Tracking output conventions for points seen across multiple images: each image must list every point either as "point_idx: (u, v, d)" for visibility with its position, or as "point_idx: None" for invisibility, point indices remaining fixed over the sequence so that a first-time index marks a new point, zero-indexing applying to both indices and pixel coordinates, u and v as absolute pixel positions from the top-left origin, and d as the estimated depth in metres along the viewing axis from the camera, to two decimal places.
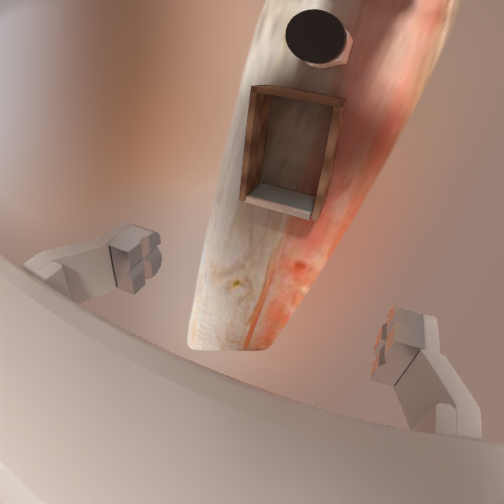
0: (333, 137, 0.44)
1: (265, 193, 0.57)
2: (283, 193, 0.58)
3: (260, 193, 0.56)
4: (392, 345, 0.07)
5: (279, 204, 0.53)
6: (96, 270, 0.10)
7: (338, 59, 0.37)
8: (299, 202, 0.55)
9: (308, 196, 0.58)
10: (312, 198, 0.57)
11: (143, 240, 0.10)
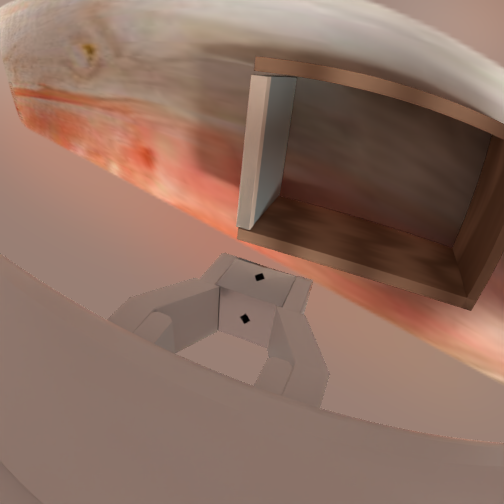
0: (412, 290, 0.22)
1: (278, 106, 0.22)
2: (281, 136, 0.25)
3: (277, 97, 0.21)
4: (248, 300, 0.08)
5: (259, 159, 0.22)
6: (201, 315, 0.09)
7: None
8: (268, 182, 0.26)
9: (280, 178, 0.29)
10: (277, 189, 0.29)
11: (256, 278, 0.09)
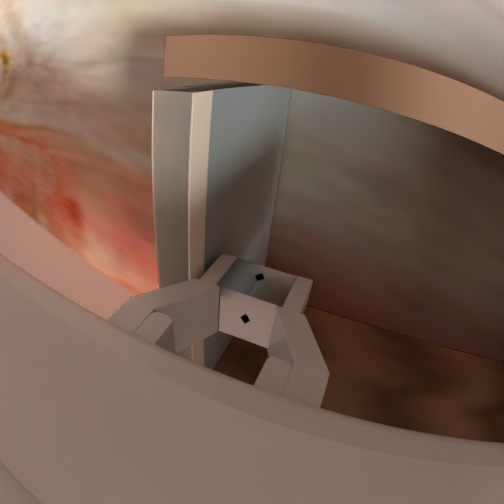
0: None
1: (246, 156, 0.10)
2: (259, 209, 0.13)
3: (242, 137, 0.09)
4: (248, 300, 0.08)
5: None
6: (201, 315, 0.09)
7: None
8: None
9: None
10: None
11: (256, 278, 0.09)
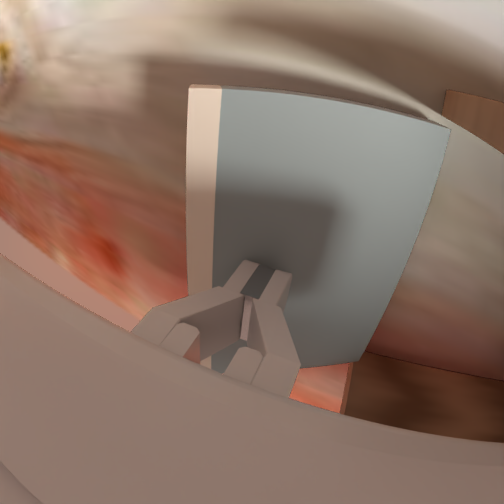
0: None
1: (314, 180, 0.09)
2: (353, 260, 0.11)
3: (300, 153, 0.08)
4: None
5: (202, 281, 0.10)
6: (225, 324, 0.08)
7: None
8: None
9: (357, 338, 0.13)
10: (339, 352, 0.14)
11: None
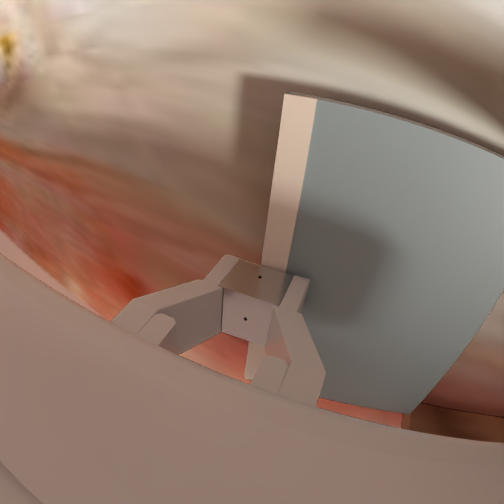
0: None
1: (401, 212, 0.08)
2: (428, 307, 0.09)
3: (390, 180, 0.07)
4: (245, 299, 0.08)
5: None
6: (204, 316, 0.09)
7: None
8: (338, 362, 0.11)
9: (414, 390, 0.11)
10: (392, 400, 0.12)
11: (259, 279, 0.09)
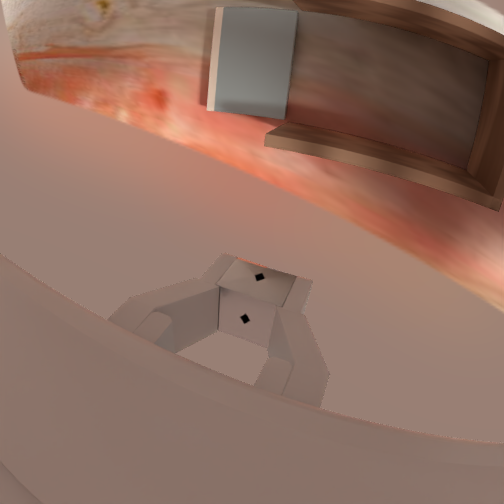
0: (442, 188, 0.21)
1: (248, 28, 0.25)
2: (266, 56, 0.26)
3: (243, 21, 0.24)
4: (248, 300, 0.08)
5: (215, 59, 0.27)
6: (201, 315, 0.09)
7: None
8: (241, 87, 0.28)
9: (278, 100, 0.28)
10: (271, 108, 0.29)
11: (256, 278, 0.09)
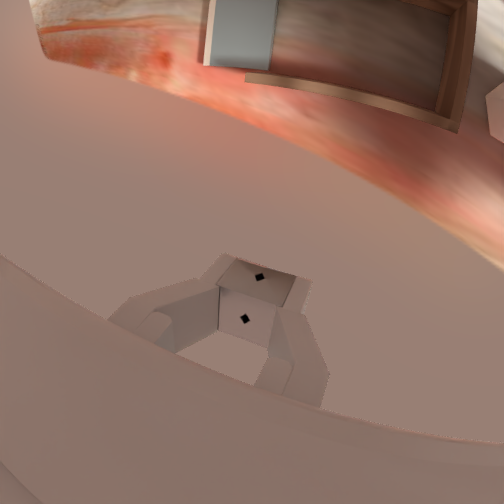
0: (399, 111, 0.23)
1: None
2: (252, 19, 0.29)
3: None
4: (248, 300, 0.08)
5: (211, 24, 0.30)
6: (201, 315, 0.09)
7: None
8: (232, 45, 0.31)
9: (263, 54, 0.31)
10: (257, 61, 0.31)
11: (256, 277, 0.09)
